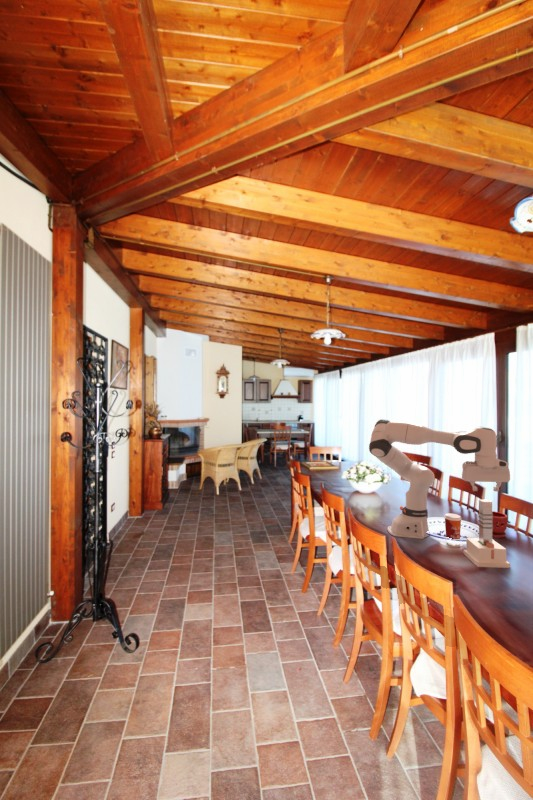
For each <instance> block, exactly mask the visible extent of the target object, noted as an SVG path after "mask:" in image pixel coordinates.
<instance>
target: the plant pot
mask: <svg viewBox="0 0 533 800" xmlns="http://www.w3.org/2000/svg"><path fill="white" fill-rule="evenodd" d="M492 514H493V516H492V518H493V520H492V523H493V525H492V527H493V529H492V538H494V539H496V538H498V539H499V538H504V537H506V535H507V534H506V530H507V528H508V521H509V520H508V519H509V518H508V515H507V514H505V513H503V512H499V511H493V510H492Z"/></svg>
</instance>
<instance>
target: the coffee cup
mask: <svg viewBox="0 0 533 800" xmlns="http://www.w3.org/2000/svg"><path fill="white" fill-rule="evenodd" d="M443 518H444V524H445V526H444V527H445V538H446V537H449V538H452V539H460V540H461V527H462V516H461V515H459V514H456V513H445V514H444V516H443Z"/></svg>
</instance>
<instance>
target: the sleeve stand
mask: <svg viewBox="0 0 533 800" xmlns="http://www.w3.org/2000/svg"><path fill="white" fill-rule="evenodd" d="M465 539H466V549H463V550H462V551H463V553H462V554H463V555H464V556H465V557H466V558H467V559H469V561H471V562H472V564H474V565H475V566H476V567H478V568H500V569H501V568H503V569H506V568H507V569H510V568H511V563H510V562H509V561H508V560H507V548H506V547H504V546H503V545H501V544H500V543H498V542H497V541H495V539H493V538H492V543H489V542H486V546H482V545H481V544H480V543H479V542H478V540H479V538H475V537H473V538H472V537H471V538H470V537H469V538H468V537H467V538H465Z"/></svg>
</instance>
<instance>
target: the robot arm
mask: <svg viewBox="0 0 533 800" xmlns="http://www.w3.org/2000/svg"><path fill="white" fill-rule="evenodd" d="M370 436H371V437H370V441H369V442H370V443H369V444H368V446H369V447H368V450H369V452H370V454H371V455H373V456H374V457H375V458H376V459H377V460H378V461H379V462H381V463H383V465H386V466H387V467H388V468H390V469H391V470H393V471H394V472H395V473H397V474H398V476H400V477H401V478H403V479H404V480H405V481H406V482H409V488H408V490H407V491H406V492H405V506H404V507H403V506H402V505H401V506H399V510H400V511H401V514H399V515H397V516H395V517H394V518H393V519H392V521H391V525H388V526H387V532H388V533H389V534H390V535H391V536H393V537H399V538H409V539H410V538H411V539H420V540H423V539H426V538H427V537H429V536H430V535H427V534H426V532H427V531H429V532H430V530H429V525H428V516H429V512H428V508H427V507H428V503H427V501H428V498H427V497H428V492H429V489H430V488H431V485H433V484H434V482H435V474H434V472H433V471H432V470H431V469H430V468H429V467H426V466H424V465H421V464H418V463H416V462H414V461H412V460H411V459H410V458H409V457H408V455H407V454H405V453H404V452H402V451H401V450H399V449H398V448H397V447H395V446H394V445H393V443H395V442H396V443H402V444H406V445H412V446H413V445H415V446H416V445H418V446H420V445H423V444H427V443H434V444H435V443H436V444H441V445H447V446H448V445H449V446H451V447H453V448H454V449H455V451H457V452H458V453H460V454H462V455H468V454H474V460H473V461H471V460H470V461H465V462H463V463H462V465H461V466H462V473H461V479H462V480H463V481H464V482H469V483H470V485H471V487H472V492H478V491H479V490H478V488H479V487H477V486H476V485H475V484H476V482H477V483H478V482H479V483H481V482H483V483H488V482H490V483H495V486H493V491H494V492H499V491H500V490H499V488H500V487H501V486H502V483H509V482H510V480H511V473H510V472H511V471H510V469H509V462H507V461H505V460H502V459H500V458H498V457H497V456H498V455H497V446H498V445H497V444H498V443H497V442H498V441H497V439H498V438H497V435H496V431H495V430H494V429H492V428H491V427H486V426H485V427H484V426H477V427H475V428H473V429H472V430H469V431H463V430H461V431H456V432H447V431H442V430H436V429H432V428H429V427H427V426H424V425H421V424H418V423H414V422H409V421H403V420H402V421H401V420H389V419H383V418H382V419H378V420H377V422H376V423H375V424H374V428H373V430H372V432H371V435H370Z"/></svg>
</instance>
